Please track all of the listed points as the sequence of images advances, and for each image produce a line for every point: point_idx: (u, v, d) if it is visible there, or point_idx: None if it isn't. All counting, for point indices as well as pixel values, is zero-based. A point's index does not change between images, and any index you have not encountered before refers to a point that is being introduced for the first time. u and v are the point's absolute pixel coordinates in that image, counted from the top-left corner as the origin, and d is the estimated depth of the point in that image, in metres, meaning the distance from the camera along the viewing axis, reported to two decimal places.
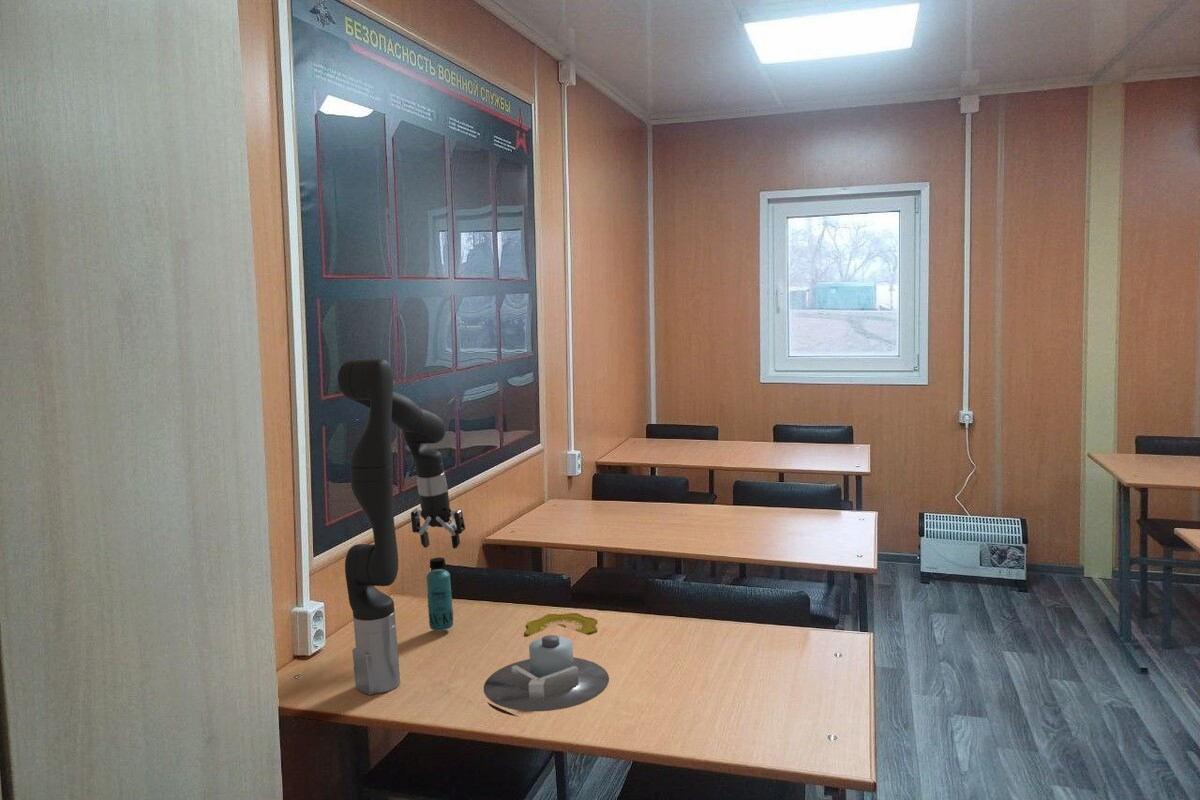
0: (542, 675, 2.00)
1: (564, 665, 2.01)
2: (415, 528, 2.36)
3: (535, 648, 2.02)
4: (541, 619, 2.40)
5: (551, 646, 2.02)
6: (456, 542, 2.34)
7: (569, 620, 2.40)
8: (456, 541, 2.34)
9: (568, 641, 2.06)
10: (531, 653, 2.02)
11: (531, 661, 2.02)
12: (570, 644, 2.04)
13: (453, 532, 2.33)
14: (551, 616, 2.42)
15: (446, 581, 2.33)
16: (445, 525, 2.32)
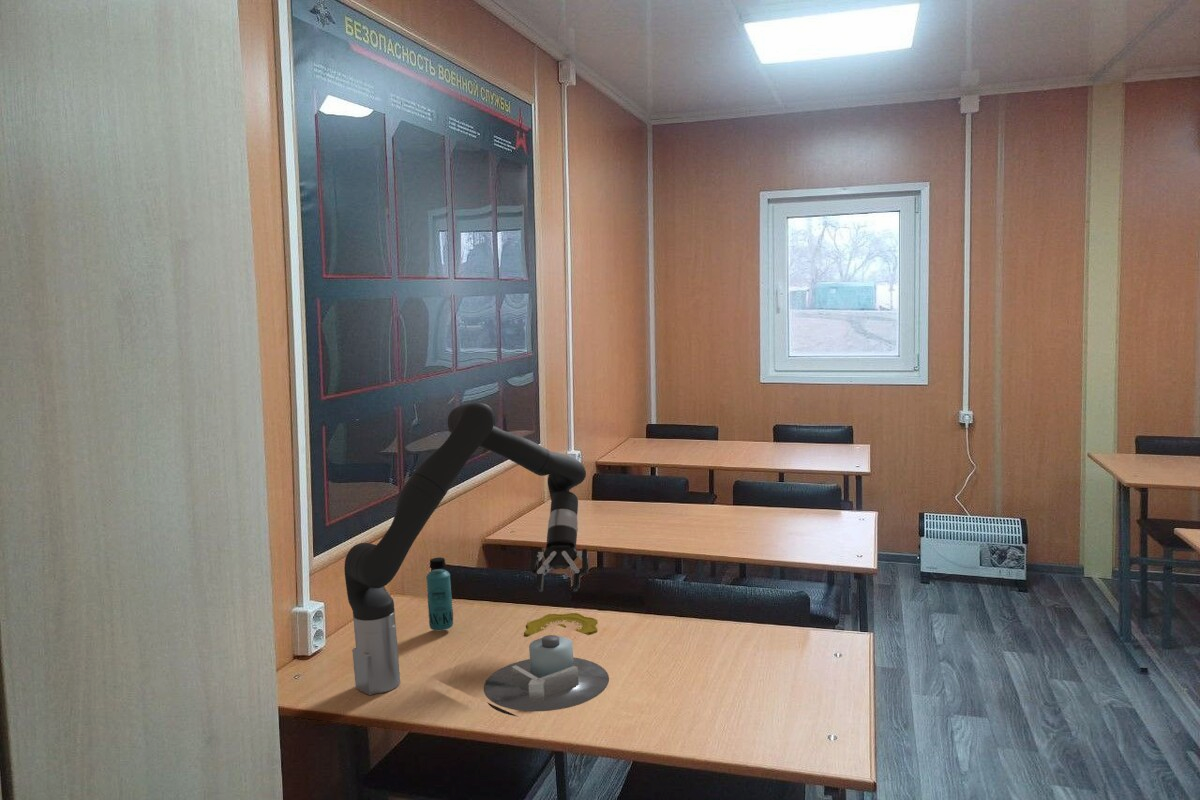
0: (542, 675, 2.00)
1: (564, 665, 2.01)
2: (534, 567, 2.19)
3: (535, 648, 2.02)
4: (541, 619, 2.40)
5: (551, 646, 2.02)
6: (577, 582, 2.15)
7: (569, 620, 2.40)
8: (578, 581, 2.15)
9: (568, 641, 2.06)
10: (531, 653, 2.02)
11: (531, 661, 2.02)
12: (570, 644, 2.04)
13: (577, 569, 2.17)
14: (551, 616, 2.42)
15: (446, 581, 2.33)
16: (570, 560, 2.18)
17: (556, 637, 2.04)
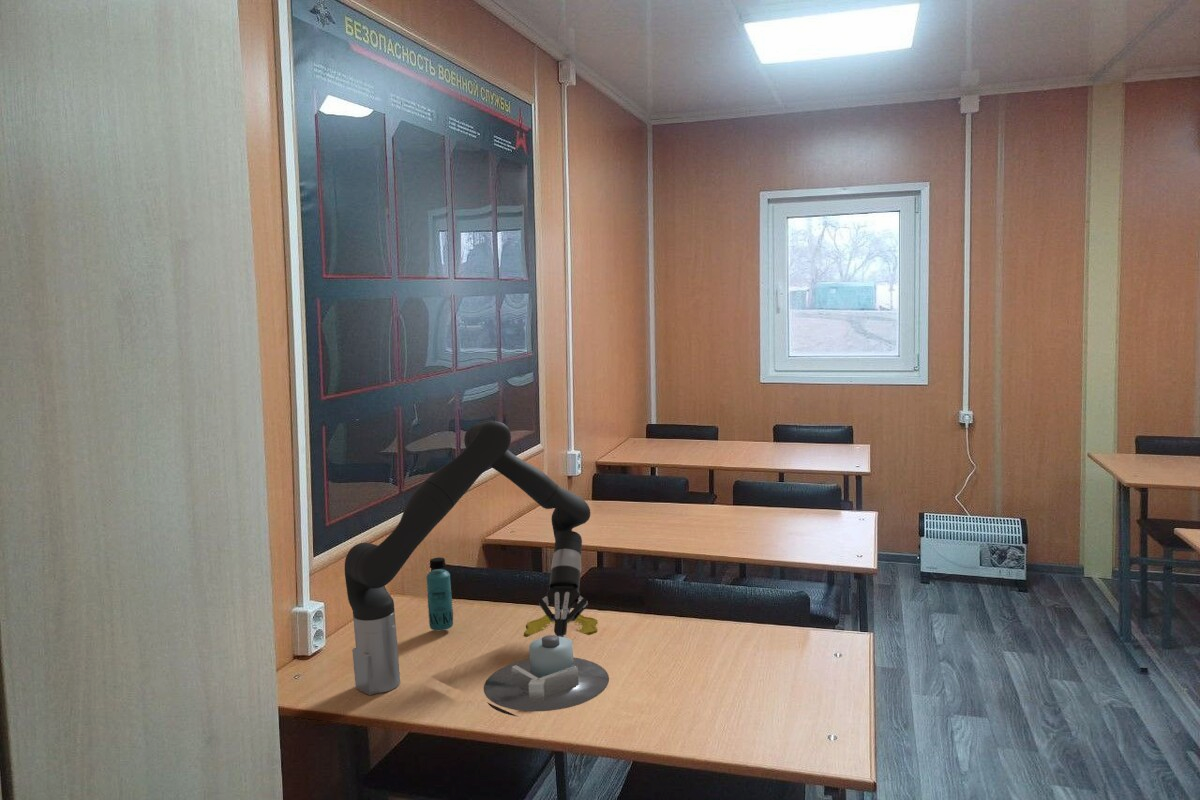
0: (542, 675, 2.00)
1: (564, 665, 2.01)
2: None
3: (535, 648, 2.02)
4: (541, 619, 2.40)
5: (551, 646, 2.02)
6: (564, 628, 2.15)
7: None
8: (564, 627, 2.15)
9: (568, 641, 2.06)
10: (531, 653, 2.02)
11: (531, 661, 2.02)
12: (570, 644, 2.04)
13: (564, 615, 2.16)
14: None
15: (446, 581, 2.33)
16: (566, 604, 2.17)
17: (556, 637, 2.04)
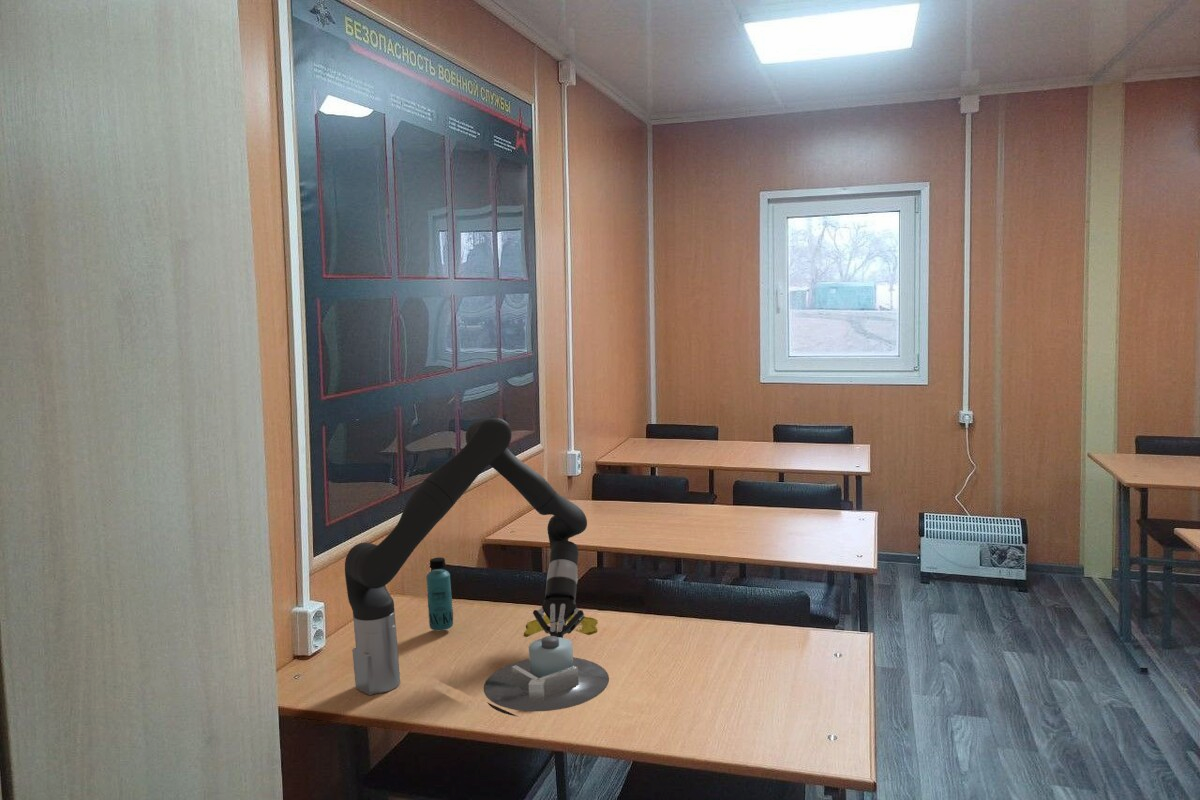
0: (542, 676, 2.00)
1: (564, 666, 2.00)
2: None
3: (535, 649, 2.02)
4: None
5: (551, 647, 2.02)
6: None
7: (569, 620, 2.40)
8: None
9: (568, 642, 2.05)
10: (531, 654, 2.01)
11: (531, 662, 2.02)
12: (570, 645, 2.03)
13: (560, 627, 2.11)
14: None
15: (446, 581, 2.33)
16: (562, 616, 2.12)
17: (556, 638, 2.04)
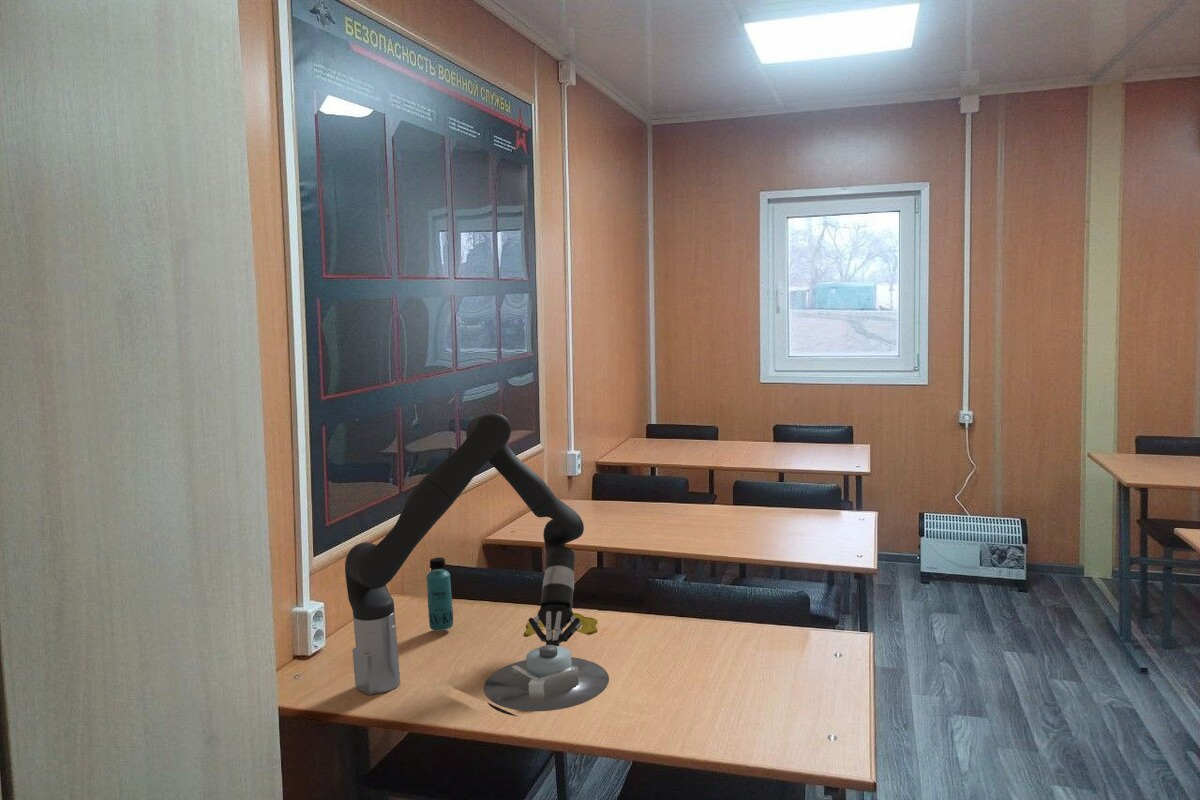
0: None
1: None
2: None
3: (533, 659, 1.96)
4: None
5: (549, 656, 1.96)
6: None
7: None
8: None
9: (566, 651, 2.00)
10: (529, 664, 1.96)
11: (529, 672, 1.96)
12: (568, 654, 1.98)
13: (556, 636, 2.06)
14: None
15: (446, 581, 2.33)
16: (558, 624, 2.07)
17: (554, 647, 1.99)
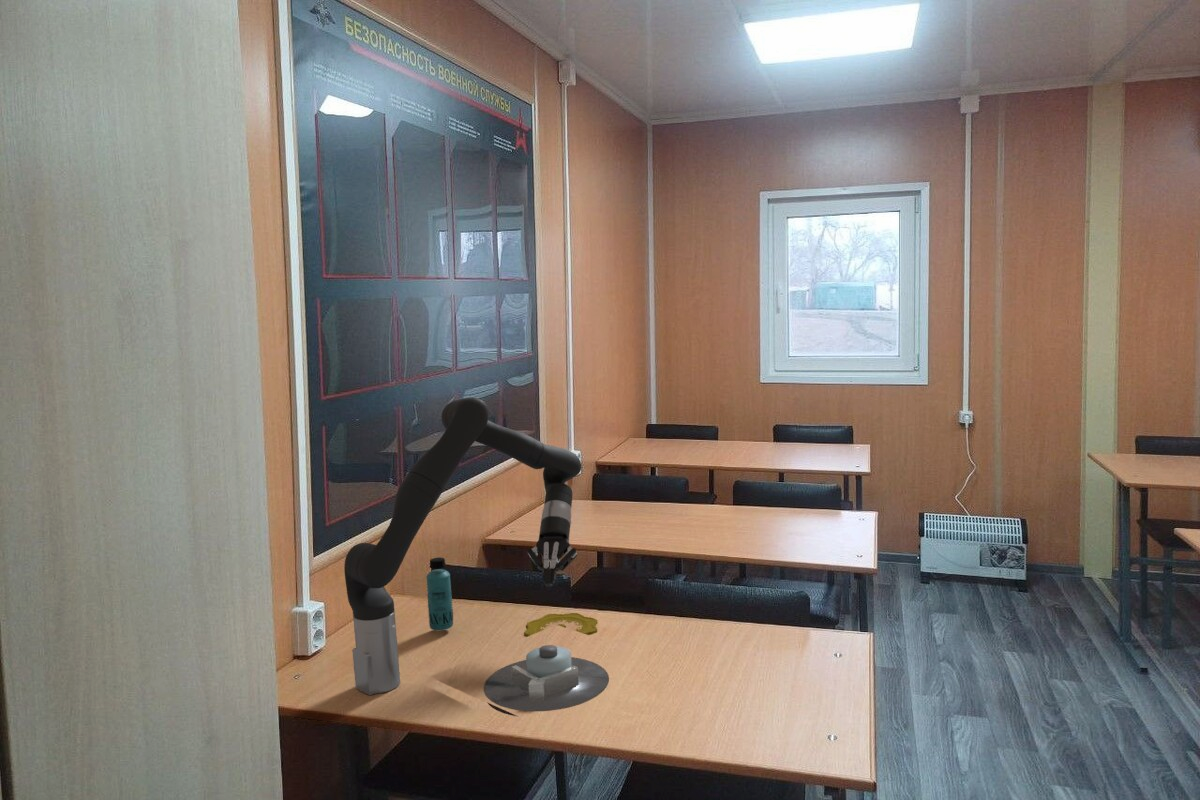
0: None
1: None
2: None
3: (533, 659, 1.96)
4: (541, 619, 2.40)
5: (549, 656, 1.96)
6: (553, 577, 2.14)
7: (569, 620, 2.40)
8: (553, 576, 2.14)
9: (566, 651, 2.00)
10: (529, 664, 1.96)
11: (529, 672, 1.96)
12: (568, 654, 1.98)
13: (553, 564, 2.16)
14: (551, 616, 2.42)
15: (446, 581, 2.33)
16: (555, 554, 2.17)
17: (554, 647, 1.99)
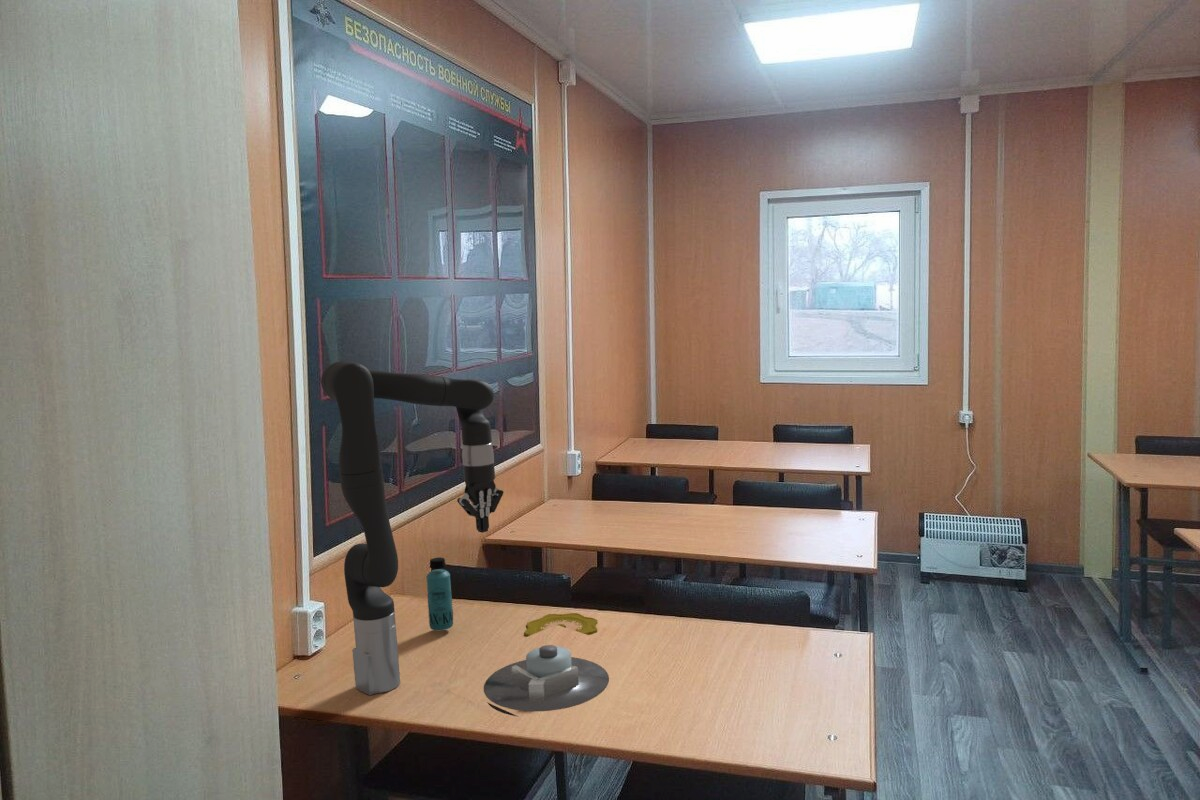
0: None
1: None
2: (477, 511, 2.14)
3: (533, 659, 1.96)
4: (541, 619, 2.40)
5: (549, 656, 1.96)
6: (487, 524, 2.17)
7: (569, 620, 2.40)
8: (487, 523, 2.17)
9: (566, 651, 2.00)
10: (529, 664, 1.96)
11: (529, 672, 1.96)
12: (568, 654, 1.98)
13: (487, 512, 2.16)
14: (551, 616, 2.42)
15: (446, 581, 2.33)
16: (489, 501, 2.15)
17: (554, 647, 1.99)
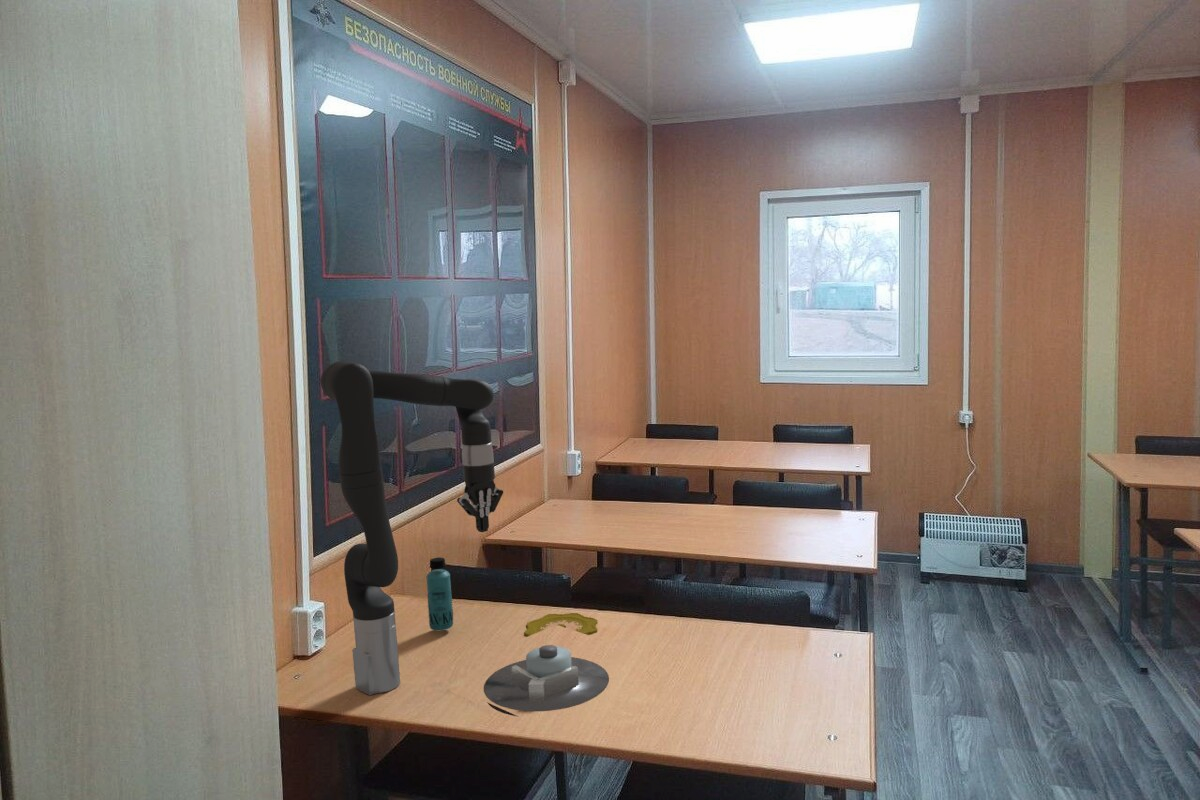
0: None
1: None
2: (477, 511, 2.14)
3: (533, 659, 1.96)
4: (541, 619, 2.40)
5: (549, 656, 1.96)
6: (487, 523, 2.17)
7: (569, 620, 2.40)
8: (487, 522, 2.17)
9: (566, 651, 2.00)
10: (529, 664, 1.96)
11: (529, 672, 1.96)
12: (568, 654, 1.98)
13: (487, 512, 2.16)
14: (551, 616, 2.42)
15: (446, 581, 2.33)
16: (489, 501, 2.15)
17: (554, 647, 1.99)
